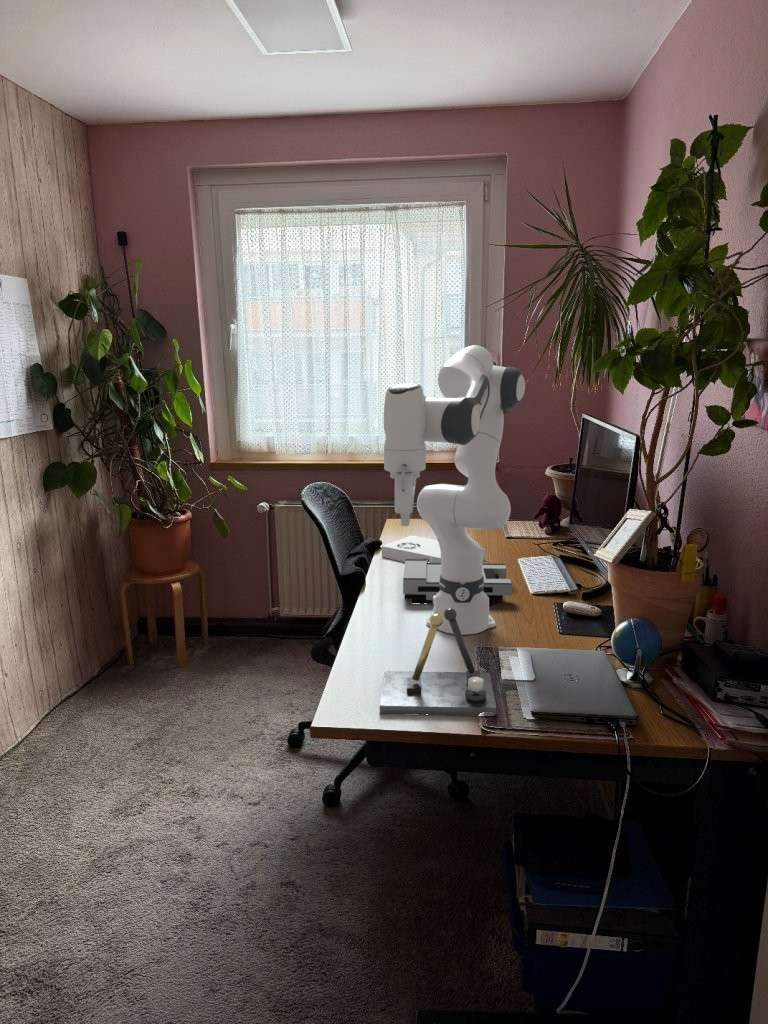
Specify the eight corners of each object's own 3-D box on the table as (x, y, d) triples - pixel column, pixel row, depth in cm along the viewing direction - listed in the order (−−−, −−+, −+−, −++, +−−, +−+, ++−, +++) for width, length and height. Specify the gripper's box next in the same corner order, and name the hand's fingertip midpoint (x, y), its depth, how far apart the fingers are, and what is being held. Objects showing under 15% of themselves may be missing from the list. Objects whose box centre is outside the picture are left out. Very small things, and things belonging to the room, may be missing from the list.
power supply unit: (456, 575, 235) (457, 561, 234) (381, 558, 255) (381, 545, 254) (485, 562, 249) (485, 549, 248) (411, 547, 269) (411, 535, 268)
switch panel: (384, 679, 159) (384, 666, 158) (489, 681, 158) (489, 668, 157) (379, 714, 144) (379, 700, 143) (496, 716, 142) (496, 702, 141)
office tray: (511, 607, 204) (512, 580, 202) (403, 605, 206) (403, 579, 205) (504, 584, 224) (504, 560, 223) (405, 583, 227) (405, 559, 225)
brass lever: (409, 674, 151) (432, 610, 148) (421, 677, 151) (444, 614, 148) (409, 679, 149) (432, 614, 145) (421, 683, 149) (444, 618, 145)
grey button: (467, 684, 147) (467, 676, 147) (482, 684, 147) (482, 676, 146) (468, 691, 144) (468, 683, 143) (483, 691, 144) (484, 683, 143)
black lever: (465, 670, 155) (441, 608, 152) (477, 667, 154) (453, 604, 151) (466, 676, 152) (442, 613, 149) (478, 672, 152) (454, 608, 149)
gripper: (419, 469, 136) (419, 537, 139) (420, 454, 156) (420, 513, 159) (387, 469, 137) (388, 537, 140) (392, 454, 157) (393, 513, 160)
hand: (405, 524), depth 150 cm, fingers closed
